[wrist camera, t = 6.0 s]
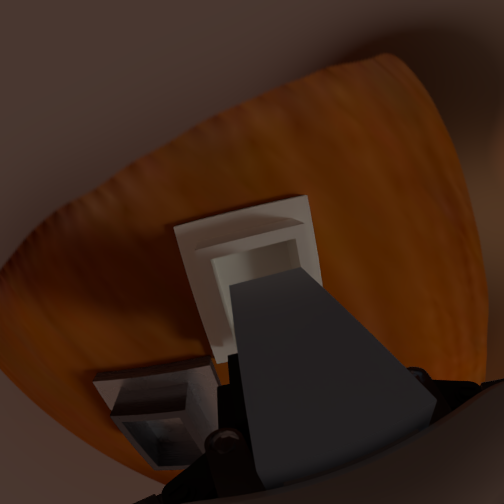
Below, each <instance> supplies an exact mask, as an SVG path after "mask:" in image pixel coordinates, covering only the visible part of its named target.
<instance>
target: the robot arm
mask: <svg viewBox="0 0 504 504" xmlns="http://www.w3.org/2000/svg"><path fill="white" fill-rule="evenodd" d="M228 368H229V380H230V384H227V385H222V386H218V387H217V410H218V429H217V430H215V431H213V432H212V433H210V434H209V435H208V436H207V438H206V439H205V442H204V448H205V453H204V454H203V455H202V456H200V457H199V458H198V459H197V460H196V461H195V462H193V463H192V464H191V465H190V466H189V467H187V468H186V469H185V470H184V471H183V472H181V473H180V474H179V475H178V476H176V477H175V478H174V479H173V480H171V481H170V482H169V483H167V485H166V486H165V487H164V488H163V490H162V493H161V494H159V495H157V496H156V495H155V494H153V495H151V496H149V497H147V498H145V499H142V500H140V501H138V502H136V503H133V504H504V378H503V379H498V380H493V381H489V382H483V383H481V385H480V386H479V385H478V384H477V383H474V382H470V381H448V380H432V379H431V377H430V376H429V374H428V373H427V372H426V371H425V370H424V369H422V368H419V367H408V368H406V369H407V370H408V371H409V372H410V373H411V374H412V375H413V376H414V377H415V378H416V379H417V380H418V381H419V382H420V383H421V384H422V385H423V386H424V387H425V388H426V389H427V390H428V391H429V392H430V393H431V394H432V395H433V396H434V397H435V398H436V399H437V402H436V405H435V408H434V411H433V415H432V418H431V420H430V423H429V426H428V427H427V428H425V429H424V430H422V431H420V432H419V433H417V434H415V435H413V436H412V437H410V438H408V439H406V440H404V441H403V442H401V443H399V444H397V445H395V446H393V447H391V448H389V449H387V450H385V451H383V452H381V453H378V454H376V455H374V456H372V457H370V458H367V459H365V460H363V461H360V462H358V463H355V464H353V465H350V466H348V467H345V468H343V469H340V470H337V471H334V472H332V473H329V474H326V475H323V476H320V477H316V478H313V479H310V480H307V481H303V482H300V483H296V484H292V485H288V486H284V487H280V488H275V489H271V490H266V488H265V487H264V485H263V483H262V481H261V479H260V477H259V475H258V474H257V472H256V467H255V461H254V455H253V449H252V443H251V437H250V431H249V425H248V419H247V413H246V406H245V400H244V393H243V386H242V380H241V373H240V366H239V359H238V353H235V354H231V355H228Z"/></svg>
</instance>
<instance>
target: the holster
mask: <svg viewBox="0 0 504 504" xmlns="http://www.w3.org/2000/svg"><path fill="white" fill-rule="evenodd" d="M173 228H174V231H175V235H176V239H177V242H178V246H179V249H180V253H181V256H182V260H183V263H184V267H185V270H186V273H187V277H188V280H189V283H190V286H191V289H192V293H193V296H194V299H195V302H196V305H197V308H198V311H199V314H200V317H201V320H202V323H203V326H204V329H205V332H206V335H207V337H208V340H209V343H210V346H211V349H212V351H213V354H214V357H215V360H216V362H217V364H219V363H223V362H228V355H231V354H235V353H238V351H237V344H236V337H235V329H234V321H233V314H232V306H231V298H230V289H229V285H233V284H237V283H241V282H245V281H249V280H253V279H257V278H260V277H264V276H268V275H272V274H276V273H280V272H283V271H287V270H291V269H295V268H298V267H302V268H303V269H304V270H305V271H306V272H307V273H308V274H309V275H310V276H311V277H312V278H313V279H314V280H316V281H317V282H318V283H319V284H320V285H321V286H322V279H321V272H320V266H319V259H318V253H317V247H316V241H315V235H314V230H313V224H312V219H311V213H310V208H309V203H308V198H307V195H301V196H296V197H291V198H287V199H282V200H278V201H273V202H269V203H264V204H260V205H256V206H251V207H247V208H243V209H239V210H235V211H230V212H226V213H222V214H218V215H214V216H210V217H206V218H203V219H199V220H195V221H191V222H187V223H184V224H180V225H176V226H174V227H173ZM322 287H323V286H322Z"/></svg>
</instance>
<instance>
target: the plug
mask: <svg viewBox="0 0 504 504" xmlns="http://www.w3.org/2000/svg"><path fill="white" fill-rule="evenodd" d="M229 289H230V298H231V306H232V314H233V321H234V329H235V337H236V344H237V351H238V359H239V366H240V373H241V380H242V386H243V393H244V400H245V406H246V413H247V419H248V425H249V431H250V437H251V443H252V449H253V455H254V461H255V467H256V472H257V474H258V475H259V477H260V479H261V481H262V483H263V485H264V487H265V488H266V490H271V489H275V488H280V487H284V486H288V485H292V484H296V483H300V482H303V481H307V480H310V479H313V478H316V477H320V476H323V475H326V474H329V473H332V472H334V471H337V470H340V469H343V468H345V467H348V466H350V465H353V464H355V463H358V462H360V461H363V460H365V459H367V458H370V457H372V456H374V455H376V454H378V453H381V452H383V451H385V450H387V449H389V448H391V447H393V446H395V445H397V444H399V443H401V442H403V441H404V440H406V439H408V438H410V437H412V436H413V435H415V434H417V433H419V432H420V431H422V430H424V429H425V428H427V427H428V426H429V423H430V420H431V418H432V415H433V411H434V408H435V405H436V402H437V399H436V398H435V397H434V396H433V395H432V394H431V393H430V392H429V391H428V390H427V389H426V388H425V387H424V386H423V385H422V384H421V383H420V382H419V381H418V380H417V379H416V378H415V377H414V376H413V375H412V374H411V373H410V372H409V371H408V370H407V369H406V368H405V367H404V366H403V365H402V364H401V363H400V362H399V361H398V360H397V359H396V358H395V357H394V356H393V355H392V354H391V353H390V352H389V351H388V350H387V349H386V348H385V347H384V346H383V345H382V344H381V343H380V342H379V341H378V340H377V339H376V338H375V337H374V336H373V335H372V334H371V333H370V332H369V331H368V330H367V329H366V328H365V327H364V326H363V325H362V324H361V323H360V322H359V321H357V320H356V319H355V318H354V317H353V316H352V315H351V314H350V313H349V312H348V311H347V310H346V309H345V308H344V307H343V306H342V305H341V304H340V303H339V302H338V301H337V300H336V299H335V298H333V297H332V296H331V295H330V294H329V293H328V292H327V291H326V290H325V289H324V288H323V287H322V286H321V285H320V284H319V283H318V282H317V281H316V280H314V279H313V278H312V277H311V276H310V275H309V274H308V273H307V272H306V271H305V270H304V269H303V268H302V267H298V268H295V269H291V270H287V271H283V272H280V273H276V274H272V275H268V276H264V277H260V278H257V279H253V280H249V281H245V282H241V283H237V284H233V285H229Z"/></svg>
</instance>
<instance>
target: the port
mask: <svg viewBox="0 0 504 504" xmlns="http://www.w3.org/2000/svg"><path fill="white" fill-rule="evenodd" d="M92 382H93V384H94V385H95V387H96V389H97V390H98V392H99V393H100V395H101V396H102V398H103V399H104V401H105V402H106V404H107V405H108V407H109V408H110V410H111V414H110V417H111V419H112V420H113V421H114V423H115V424H116V425H117V427H118V428H119V429H120V431H121V432H122V433H123V434H124V436H125V437H126V438H127V439H128V441H129V442H130V443H131V444H132V445H133V447H134V448H135V449H136V450H137V451H138V452H139V454H140V455H141V456H142V457H143V458H144V459H145V460H146V461H147V463H148V464H149V465H150V466H151V467H152V468H153V469H154V470H180V469H186V468H187V467H189V466H190V465H191V464H192V463H193V462H195V461H196V460H197V459H198V458H199V457H200V456H202V455H203V454H204V453H205V448H204V442H205V439H206V438H207V436H208V435H209V434H210V433H212V432H213V431H215V430H217V429H218V410H217V387H218V386H222V385H221V383H220V380H219V378H218V375H217V373H216V370H215V368H214V365H213V362H212V360H211V357H210V356H205V357H200V358H195V359H190V360H185V361H179V362H174V363H168V364H162V365H156V366H149V367H143V368H136V369H128V370H120V371H112V372H102V373H97V374H96V376H95V378H94V380H93V381H92Z"/></svg>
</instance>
